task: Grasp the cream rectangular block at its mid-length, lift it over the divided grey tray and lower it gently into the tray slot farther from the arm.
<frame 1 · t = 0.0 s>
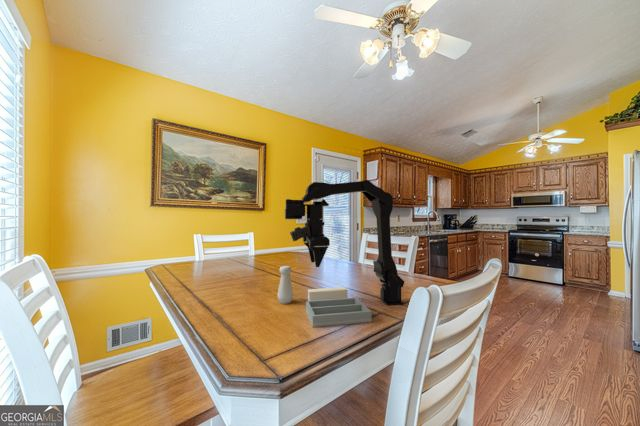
hand: (315, 264, 86), 15 cm above the table, tool pointing down, fingers open, 9 cm apart
divided grey tray: (336, 315, 79), on the table
salt shaker: (285, 302, 92), on the table
cream rectangular block: (327, 303, 91), on the table
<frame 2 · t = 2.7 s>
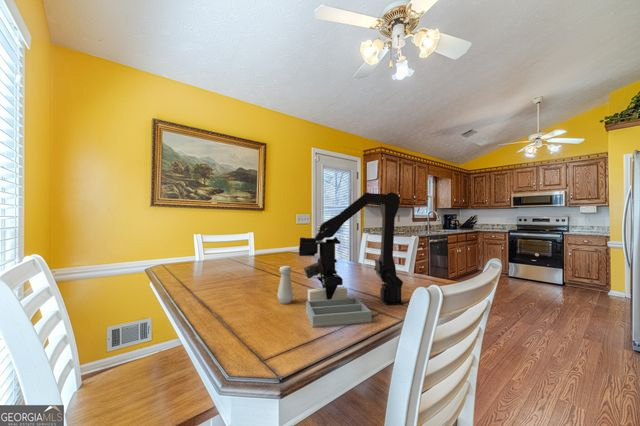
hand: (327, 299, 91), 1 cm above the table, tool pointing down, fingers closed on cream rectangular block, 4 cm apart
cream rectangular block: (327, 303, 91), on the table, touching gripper
everything else where it was.
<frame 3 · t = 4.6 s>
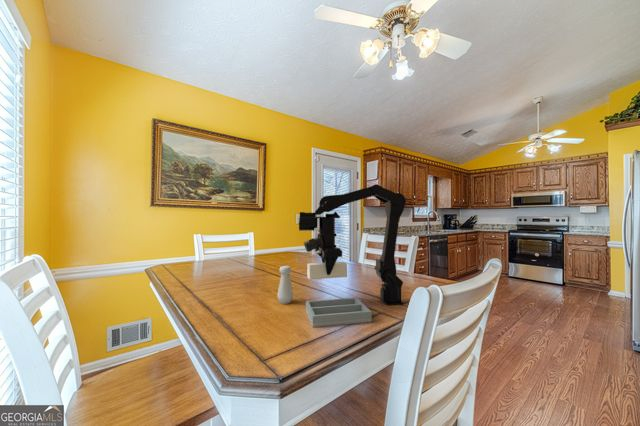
hand: (327, 273, 91), 10 cm above the table, tool pointing down, fingers closed on cream rectangular block, 4 cm apart
cream rectangular block: (327, 277, 91), point 9 cm above the table, touching gripper
everything else where it was.
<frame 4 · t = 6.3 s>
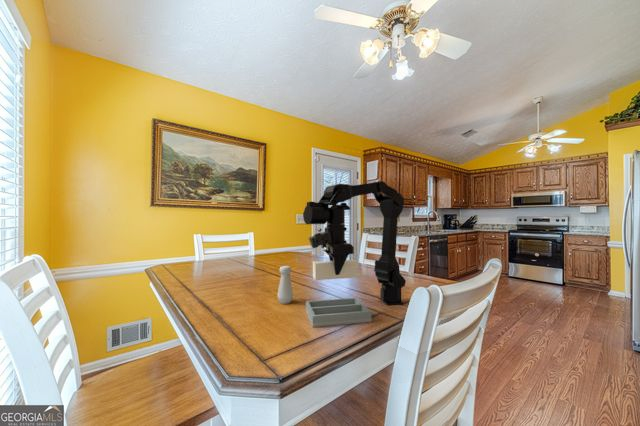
hand: (335, 273, 79), 13 cm above the table, tool pointing down, fingers closed on cream rectangular block, 4 cm apart
cream rectangular block: (335, 277, 79), point 12 cm above the table, touching gripper
everything else where it was.
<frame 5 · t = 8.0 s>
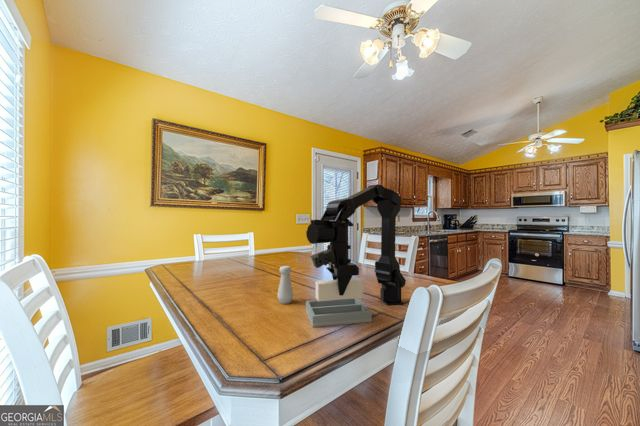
hand: (339, 293, 76), 8 cm above the table, tool pointing down, fingers closed on cream rectangular block, 4 cm apart
cream rectangular block: (339, 297, 76), point 7 cm above the table, touching gripper
everything else where it was.
when the fingers open (4 cm above the table, at t = 9.7 s): cream rectangular block drops 1 cm, resting on divided grey tray.
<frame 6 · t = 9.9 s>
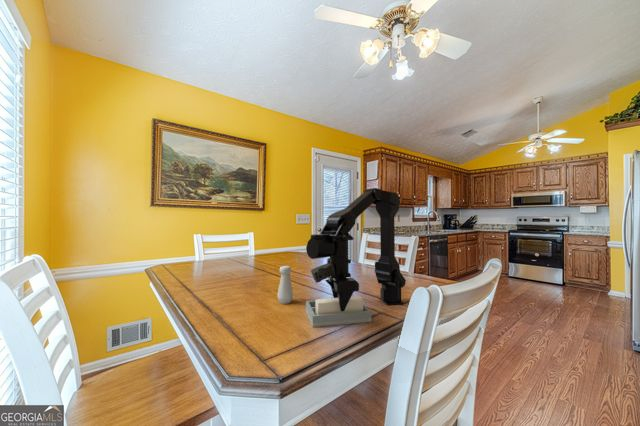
hand: (339, 307, 76), 4 cm above the table, tool pointing down, fingers open, 6 cm apart
cream rectangular block: (339, 316, 76), point 1 cm above the table, touching divided grey tray
everything else where it was.
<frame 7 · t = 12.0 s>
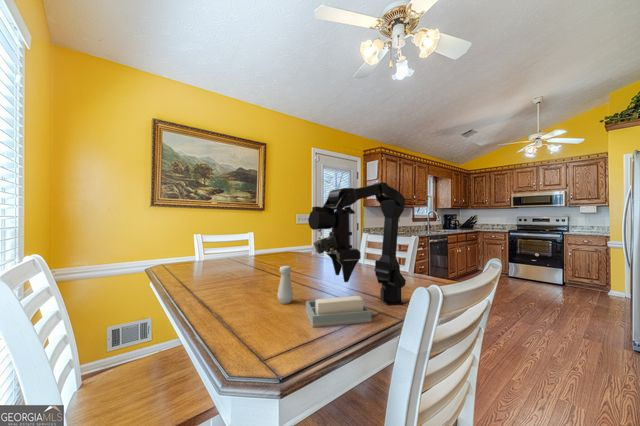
hand: (341, 278, 78), 12 cm above the table, tool pointing down, fingers open, 9 cm apart
nothing on the table moved.
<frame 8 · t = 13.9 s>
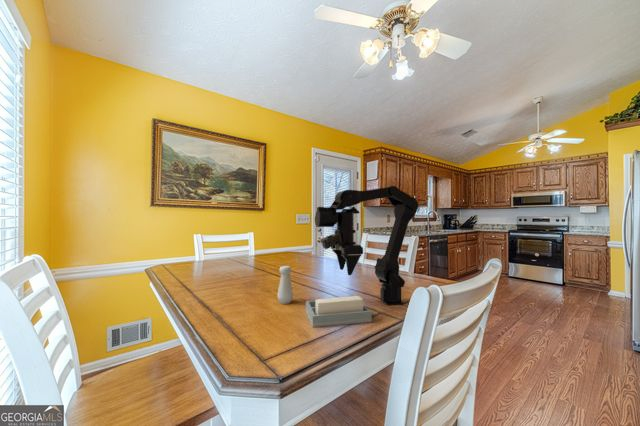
hand: (345, 272, 86), 12 cm above the table, tool pointing down, fingers open, 9 cm apart
nothing on the table moved.
at the end: cream rectangular block 0.1 cm from the target spot on the divided grey tray, point 1.0 cm above the divided grey tray's base; cream rectangular block tilted 0°; the gripper is holding nothing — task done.
